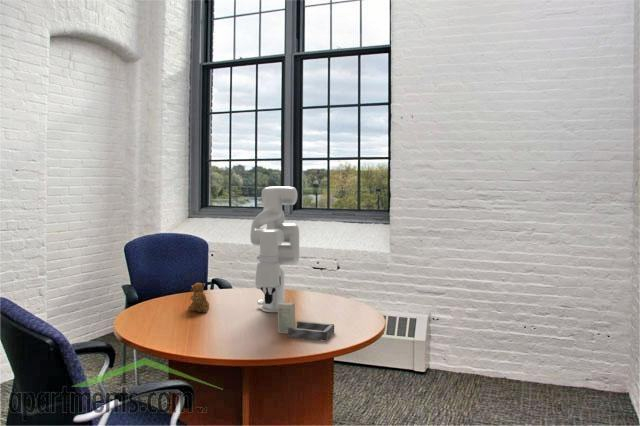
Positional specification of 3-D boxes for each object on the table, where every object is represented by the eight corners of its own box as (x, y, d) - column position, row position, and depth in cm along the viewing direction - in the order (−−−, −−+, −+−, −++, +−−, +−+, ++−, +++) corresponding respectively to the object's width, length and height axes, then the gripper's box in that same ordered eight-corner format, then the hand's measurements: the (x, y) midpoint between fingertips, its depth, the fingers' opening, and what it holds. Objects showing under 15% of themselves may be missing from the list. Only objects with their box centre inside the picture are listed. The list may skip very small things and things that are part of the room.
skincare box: (295, 331, 217) (295, 302, 216) (291, 334, 213) (291, 305, 212) (281, 330, 219) (281, 301, 219) (277, 332, 215) (277, 303, 214)
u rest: (287, 336, 210) (287, 328, 209) (298, 328, 221) (298, 320, 221) (325, 341, 205) (325, 332, 205) (334, 332, 216) (334, 324, 216)
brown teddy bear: (207, 306, 259) (207, 280, 258) (213, 313, 246) (213, 285, 245) (187, 308, 255) (186, 281, 254) (191, 315, 242) (191, 287, 241)
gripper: (248, 259, 215) (248, 303, 216) (282, 261, 211) (281, 306, 211) (256, 257, 222) (255, 300, 223) (288, 259, 218) (288, 302, 219)
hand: (268, 303), depth 217 cm, fingers closed
